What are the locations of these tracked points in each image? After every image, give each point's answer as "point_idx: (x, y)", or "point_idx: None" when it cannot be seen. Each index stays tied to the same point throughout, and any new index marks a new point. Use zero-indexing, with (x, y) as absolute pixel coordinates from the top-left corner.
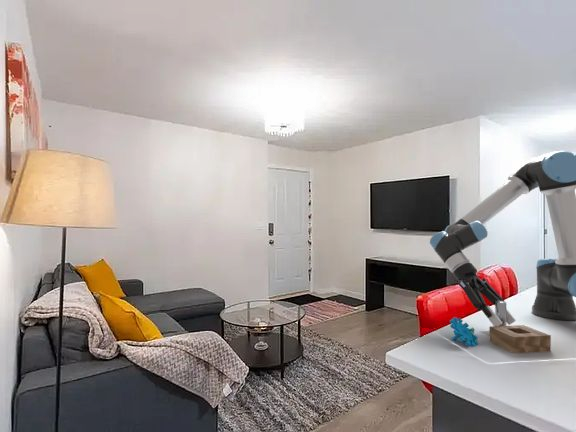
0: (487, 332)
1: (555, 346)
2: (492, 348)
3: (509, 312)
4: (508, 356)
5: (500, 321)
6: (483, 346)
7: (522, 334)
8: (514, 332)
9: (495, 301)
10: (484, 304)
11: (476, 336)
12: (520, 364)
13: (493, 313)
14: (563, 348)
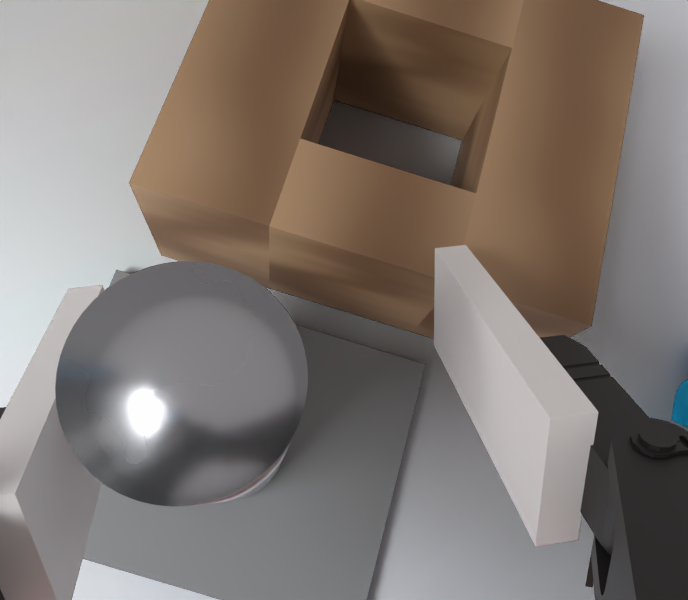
0: (297, 567)
1: (62, 56)
2: (619, 255)
3: (36, 362)
4: (638, 108)
5: (464, 258)
6: (656, 318)
7: (490, 17)
8: (509, 82)
9: (259, 467)
10: (681, 436)
11: (684, 399)
12: (677, 5)
13: (526, 321)
14: (56, 8)
